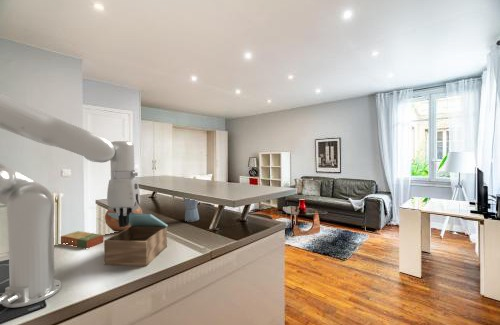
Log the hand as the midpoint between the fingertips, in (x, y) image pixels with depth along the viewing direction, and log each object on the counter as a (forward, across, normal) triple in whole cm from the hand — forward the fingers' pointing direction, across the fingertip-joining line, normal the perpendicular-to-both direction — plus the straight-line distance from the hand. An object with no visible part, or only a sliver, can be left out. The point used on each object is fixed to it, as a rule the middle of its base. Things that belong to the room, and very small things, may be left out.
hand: (124, 225), depth 84 cm
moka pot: (+16, -6, -62) cm, 64 cm away
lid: (+2, 0, -11) cm, 11 cm away
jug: (+15, +26, -42) cm, 52 cm away
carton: (+16, +32, -20) cm, 41 cm away
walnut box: (+15, 0, -10) cm, 18 cm away
